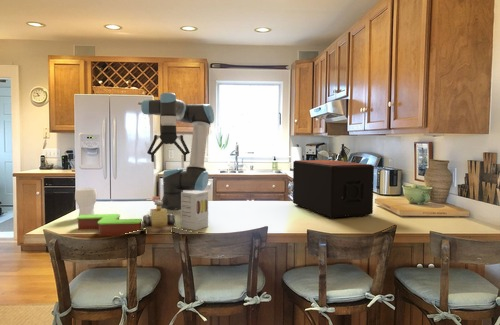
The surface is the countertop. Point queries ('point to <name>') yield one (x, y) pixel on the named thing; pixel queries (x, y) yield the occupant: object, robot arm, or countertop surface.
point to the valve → (158, 217)
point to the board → (158, 229)
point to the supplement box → (194, 209)
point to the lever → (157, 200)
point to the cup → (86, 200)
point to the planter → (108, 224)
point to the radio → (333, 187)
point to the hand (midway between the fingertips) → (168, 168)
